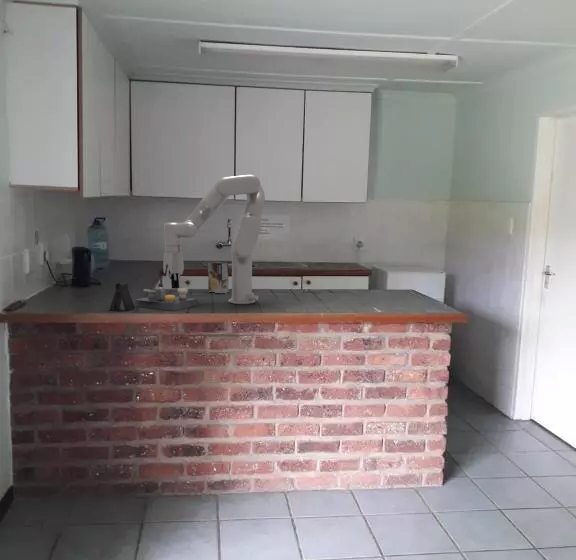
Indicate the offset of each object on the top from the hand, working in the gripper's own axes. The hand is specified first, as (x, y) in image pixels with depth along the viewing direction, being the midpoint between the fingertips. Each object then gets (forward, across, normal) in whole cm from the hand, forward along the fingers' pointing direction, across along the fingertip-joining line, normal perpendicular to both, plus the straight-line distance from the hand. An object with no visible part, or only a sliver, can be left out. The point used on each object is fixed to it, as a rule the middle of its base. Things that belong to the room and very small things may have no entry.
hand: (175, 288), depth 276 cm
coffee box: (+8, -36, -1) cm, 37 cm away
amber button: (+6, +12, +6) cm, 15 cm away
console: (+7, +8, 0) cm, 10 cm away
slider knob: (+3, +10, -1) cm, 11 cm away
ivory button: (+4, +3, +6) cm, 8 cm away
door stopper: (+6, +25, -10) cm, 28 cm away
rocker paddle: (+2, +8, -7) cm, 10 cm away
